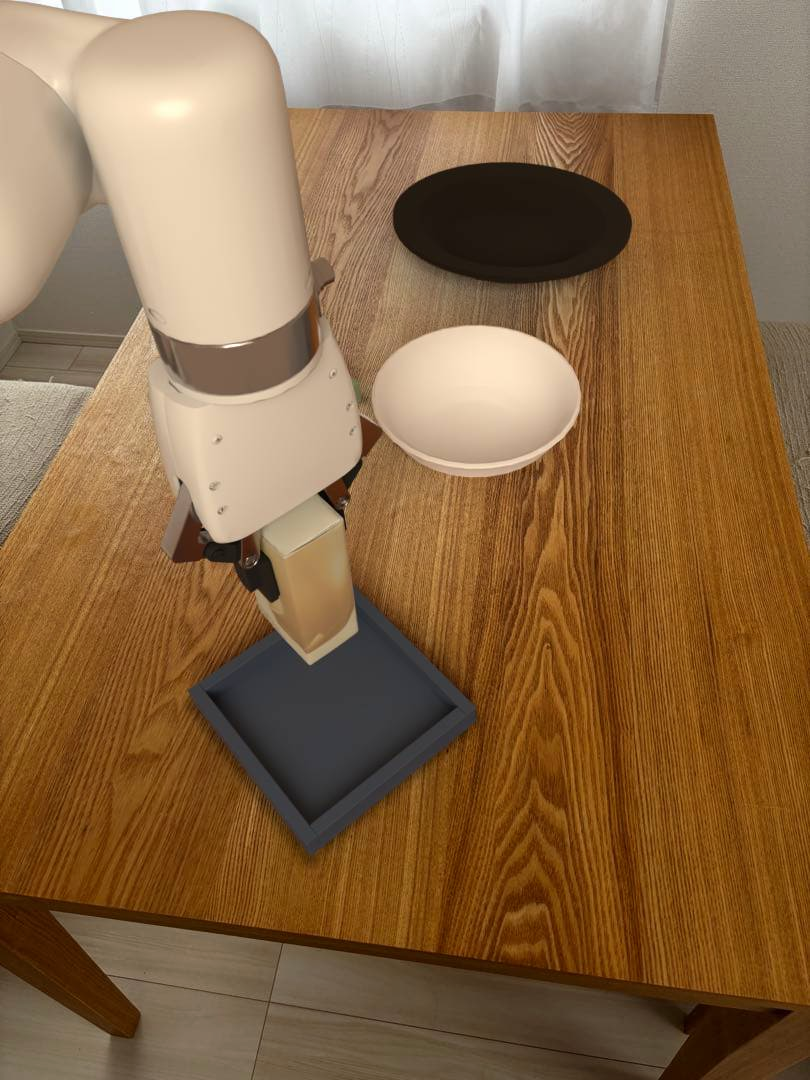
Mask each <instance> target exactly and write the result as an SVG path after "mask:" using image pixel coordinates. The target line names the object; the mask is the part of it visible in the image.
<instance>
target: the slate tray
mask: <svg viewBox="0 0 810 1080" xmlns="http://www.w3.org/2000/svg"><path fill="white" fill-rule="evenodd" d="M352 586H353V593H354V601H355V608H356V615H357V622H358V632H357V633H356V634H354V635H353V636H352V637H350V638H349V639H347V640H346V641H345V642H343V643H342V644H341V645H339V646H338V647H336V648H335V649H334V650H332V651H331V652H329V653H328V654H326V655H325V656H323V657H322V658H320V659H319V660H317V661H316V662H315V663H313V664H312V665H309V664H308V663H307V662H306V661H305V660H304V659H303V658H302V657H301V656H300V655H299V654H298V653H297V652H296V651H295V650H294V649H293V648H292V647H291V646H290V645H289V644H288V642H287V641H286V640H285V639H284V638H283V637H282V636H281V635H280V634H279V632H278V631H277V630H276V629H274V630H272V631H271V632H270V633H268V634H267V635H265V636H264V637H262V638H260V639H259V640H258V641H257V642H255V643H254V644H252V645H251V646H249V647H248V648H247V649H245V650H244V651H242V652H241V653H239V654H238V655H236V656H235V657H233V658H232V659H231V660H228V661H227V662H226V663H224V665H222V666H220V667H218V668H217V669H216V670H215V671H213V672H212V673H210V674H209V675H207V676H206V677H204V678H202V679H201V680H200V681H199V682H197V683H196V684H194V685H193V686H191V687H189V688H188V689H187V692H188V694H189V696H190V698H191V700H192V703H193V704H194V706H195V707H196V708H197V710H198V711H199V712H200V714H201V715H202V716H203V717H204V719H205V720H206V722H207V723H208V724H209V726H210V727H211V728H212V729H213V731H214V732H215V733H216V735H217V736H218V737H219V739H221V740H220V741H222V743H223V744H224V745H225V746H226V748H227V750H229V752H230V753H231V754H232V755H233V757H234V759H236V762H238V763H239V765H240V766H241V768H242V769H243V770H244V772H246V774H247V776H249V778H250V779H251V781H252V782H253V783H254V784H255V786H256V787H257V788H258V790H259V791H260V792H261V794H262V795H263V797H265V799H266V800H267V802H268V803H269V804H270V805H271V807H272V808H273V809H274V810H275V812H276V813H277V815H278V816H279V818H280V819H281V820H282V821H283V822H284V824H285V825H286V826H287V828H288V829H289V830H290V832H291V833H292V834H293V836H294V837H295V838H296V840H297V841H298V842H299V843H300V845H301V846H302V847H303V848H304V850H305V851H306V853H307V854H308V855H309V856H310V857H312V856H314V855H315V854H316V853H317V852H319V850H321V849H322V848H324V847H325V846H326V845H327V844H328V843H330V842H331V841H332V840H333V839H334V838H336V837H337V836H338V835H339V834H341V833H342V832H343V831H344V830H345V829H346V828H348V827H349V826H350V825H352V824H353V823H354V822H356V820H358V819H359V818H360V817H362V816H363V815H364V814H365V813H366V812H367V811H369V810H370V809H371V808H372V807H374V806H375V805H376V804H377V803H379V802H380V801H381V800H382V799H383V798H385V797H386V796H387V795H388V794H389V793H391V792H392V791H393V790H394V789H396V788H397V787H398V786H400V785H401V784H402V783H403V782H404V781H406V780H407V779H408V778H409V777H410V776H411V775H413V774H414V773H415V772H416V771H417V770H419V769H420V768H422V766H424V765H425V764H426V763H428V761H430V760H431V759H432V758H434V757H435V756H436V755H437V754H439V753H440V752H441V751H443V749H444V748H446V747H447V746H448V745H450V744H451V743H452V742H453V741H454V740H456V739H457V738H458V737H459V736H460V735H462V734H463V733H464V732H465V731H466V730H468V729H469V728H471V726H473V725H474V724H475V723H476V722H477V719H476V718H477V706H476V705H475V704H474V703H473V702H472V701H470V700H469V698H468V697H467V696H465V694H464V693H462V691H461V690H460V689H459V688H458V687H457V686H455V685H454V684H453V682H451V680H450V679H449V678H447V676H445V674H444V673H443V672H442V671H440V669H439V668H437V666H435V665H434V663H432V662H431V660H430V659H429V658H428V657H427V656H426V655H425V654H424V653H423V652H422V651H421V650H420V649H418V647H416V645H415V644H414V643H413V642H412V641H411V640H410V639H409V638H408V637H407V636H405V634H404V633H403V632H402V631H400V629H399V628H398V627H397V626H396V625H395V624H394V623H392V622H391V620H390V619H389V618H388V617H386V615H385V614H384V613H383V612H382V611H381V610H380V609H379V608H378V607H377V606H376V605H375V604H374V603H373V602H371V600H370V599H369V598H368V597H367V596H366V595H365V594H364V593H363V592H362V591H361V590H360V589H359V588H358V587H357V586H356V585H355V584H354V583H353V582H352Z"/></svg>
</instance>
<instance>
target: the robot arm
mask: <svg viewBox="0 0 810 1080" xmlns="http://www.w3.org/2000/svg"><path fill="white" fill-rule="evenodd" d="M302 201H303V200H302V194H301V188H300V181H299V174H298V168H297V161H296V156H295V149H294V141H293V136H292V129H291V121H290V115H289V107H288V103H287V95H286V89H285V84H284V80H283V74H282V70H281V65H280V63H279V60H278V57H277V55H276V52H275V51H274V50H273V48H272V46H271V44H270V42H269V41H268V39H267V38H266V37H265V36H264V35H263V34H262V33H261V32H260V31H259V30H258V29H257V28H256V27H255V26H254V25H252V24H251V23H248V22H247V21H245V20H243V19H241V18H239V17H238V16H235V15H231V14H228V13H224V12H218V11H211V10H202V9H201V10H200V9H179V10H167V11H161V12H160V11H159V12H154V13H150V14H145V15H141V16H137V17H134V18H123V17H114V16H107V15H100V14H94V13H89V12H82V11H77V10H72V9H66V8H61V7H58V6H57V7H56V6H52V5H46V4H41V3H34V2H29V1H22V0H0V324H4V323H6V322H8V321H10V320H11V319H12V318H13V319H14V317H16V316H18V314H20V313H21V312H22V311H24V310H25V309H26V308H28V307H29V306H30V305H31V304H32V302H33V301H34V300H35V299H36V298H37V297H38V296H39V295H40V292H41V290H42V289H43V287H44V286H45V284H46V283H47V280H48V279H49V277H50V276H51V275H52V273H53V270H54V268H55V266H56V264H57V263H58V261H59V258H60V257H61V254H62V253H63V251H64V249H65V247H66V245H67V243H68V241H69V239H70V237H71V235H72V233H73V231H74V230H75V229H74V228H75V227H76V225H77V223H78V221H79V220H80V218H81V217H82V216H83V215H84V214H86V213H87V212H89V211H90V210H91V209H93V208H94V207H96V206H97V205H105V206H107V207H108V210H109V213H110V216H111V219H112V221H113V225H114V227H115V230H116V233H117V237H118V239H119V241H120V242H119V243H120V245H121V247H122V250H123V253H124V257H125V259H126V262H127V265H128V268H129V270H130V274H131V276H132V280H133V282H134V285H135V288H136V291H137V294H138V296H139V299H140V303H141V305H142V309H143V311H144V314H145V317H146V320H147V323H148V326H149V328H150V332H151V334H152V337H153V341H154V343H155V346H156V349H157V352H158V355H159V356H158V357H157V358H155V359H153V360H152V361H150V363H149V364H148V367H147V389H148V391H147V392H148V400H149V408H150V415H151V420H152V427H153V430H154V435H155V439H156V443H157V444H156V445H157V448H158V451H159V455H160V459H161V463H162V466H163V470H164V474H165V476H166V479H167V483H168V485H169V488H170V490H171V493H172V495H173V497H174V498H175V502H174V504H173V508H172V511H171V513H170V516H169V518H168V522H167V524H166V528H165V530H164V533H163V536H162V539H161V542H160V549H161V550H162V551H163V553H165V555H166V556H167V558H169V560H171V562H172V563H174V564H184V563H185V564H186V563H192V562H200V561H201V560H207V561H209V562H211V563H221V564H233V567H234V570H235V573H236V576H237V578H238V580H239V581H240V582H241V584H242V586H243V587H244V588H245V589H246V590H247V591H248V592H249V593H254V591H255V590H257V589H258V590H259V591H260V592H261V593H262V594H263V595H264V596H265V597H266V599H267V600H268V601H269V602H270V603H273V602H275V601H276V600H278V599H279V597H278V596H280V591H279V588H278V584H277V581H276V577H275V574H274V570H273V567H272V563H271V561H270V559H269V557H268V556H267V555H266V554H265V553H264V552H263V551H262V550H261V549H260V530H261V528H262V527H264V526H265V525H267V524H269V523H270V522H272V521H274V520H275V519H277V518H278V517H280V516H282V515H283V514H285V513H286V512H288V511H290V510H291V509H293V508H294V507H296V506H298V505H299V504H301V503H302V502H304V501H305V500H307V499H309V498H310V497H312V496H313V495H315V494H316V493H317V494H318V495H319V496H320V497H321V498H322V499H323V500H324V501H325V502H326V503H327V504H329V505H330V506H331V507H332V508H333V509H334V510H335V511H336V512H337V513H338V514H339V515H340V516H341V517H342V518H343V520H344V526H345V532H346V531H347V530H348V528H347V522H346V521H347V520H346V514H345V508H346V507H347V506H348V505H350V502H351V500H352V499H351V498H352V496H351V493H350V492H349V491H350V490H349V489H350V487H352V484H353V482H354V481H355V479H356V478H357V476H358V474H359V472H360V471H361V469H362V467H363V465H364V461H363V460H364V459H363V458H364V457H365V458H366V457H367V456H368V455H369V453H370V452H371V451H372V449H373V448H374V446H375V445H376V443H377V442H378V441H379V439H380V438H381V437H382V435H383V430H382V428H381V427H380V425H379V424H378V423H376V422H375V421H374V420H372V418H370V417H368V416H367V415H366V414H364V413H362V412H361V411H359V407H358V403H357V401H356V397H355V392H354V389H353V385H352V381H351V378H350V376H351V375H350V371H349V369H348V366H347V363H346V360H345V357H344V355H343V352H342V350H341V347H340V345H339V344H340V343H339V342H338V340H337V337H336V335H335V333H334V330H333V328H332V325H331V324H330V321H329V320H328V319H327V317H325V315H324V314H323V313H322V310H321V302H320V295H321V294H322V293H323V292H324V290H325V288H327V287H329V286H331V285H332V284H334V283H335V281H336V275H335V271H334V269H333V267H332V265H331V263H330V261H328V260H327V258H325V257H324V256H319V257H317V258H316V259H314V260H311V253H310V247H309V240H308V234H307V227H306V220H305V215H304V208H303V207H304V206H303V202H302Z"/></svg>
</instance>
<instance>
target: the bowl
mask: <svg viewBox="0 0 810 1080" xmlns="http://www.w3.org/2000/svg"><path fill="white" fill-rule="evenodd" d="M370 400H371V402H370V403H371V406H372V410H373V411H372V412H373V415H374V417H375V419H376V421H377V424H378V426H379V427H381V428H382V432H384V433H385V434H386V436H387V437H389V439H390V440H391V441H392V442H393V443H395V444H396V445H397V446H399V447H400V449H402V450H403V451H404V453H405V454H406V455H407V456H409V458H412V459H413V460H414V461H416V462H417V463H418V464H420V465H423V467H424V466H425V467H427V468H429V469H431V470H433V471H436V472H440V473H443V474H447V475H450V476H457V477H465V478H488V477H496V476H501V475H506V474H509V473H512V472H515V471H519V470H521V469H523V468H525V467H527V466H529V465H530V464H533V463H534V462H536V461H538V460H539V459H540V458H541V457H542V456H543V455H544V454H546V453H547V452H548V451H549V450H550V449H551V448H553V447H554V446H555V445H556V444H557V443H558V442H560V441H561V440H562V439H563V438H564V437H565V436H566V435H567V434H568V433H569V431H570V430H571V428H573V426H574V425H575V422H576V420H577V418H578V416H579V413H580V411H581V404H582V391H581V385H580V381H579V379H578V377H577V375H576V372H575V371H574V368H573V366H572V365H571V364H570V363H569V361H567V359H566V358H565V357H564V355H562V354H561V353H560V352H559V351H557V350H556V349H555V348H554V347H553V346H552V345H550V344H548V343H547V342H545V341H543V340H541V339H539V338H538V337H536V336H534V335H530V334H528V333H525V332H522V331H520V330H517V329H516V330H515V329H513V328H508V327H505V326H504V327H503V326H497V325H488V324H469V325H468V324H465V325H464V324H463V325H455V326H450V327H449V326H448V327H445V328H441V329H436V330H434V331H430V332H427V333H424V334H422V335H420V336H418V337H416V338H413V339H411V340H409V341H408V342H406V343H405V344H403V345H402V346H400V347H399V348H397V349H396V350H395V351H394V352H393V353H392V354H391V355H390V356H388V358H387V359H386V360H385V361H384V362H383V364H382V365H381V367H380V368H379V370H378V371H377V373H376V376H375V379H374V382H373V384H372V386H371V399H370Z"/></svg>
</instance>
